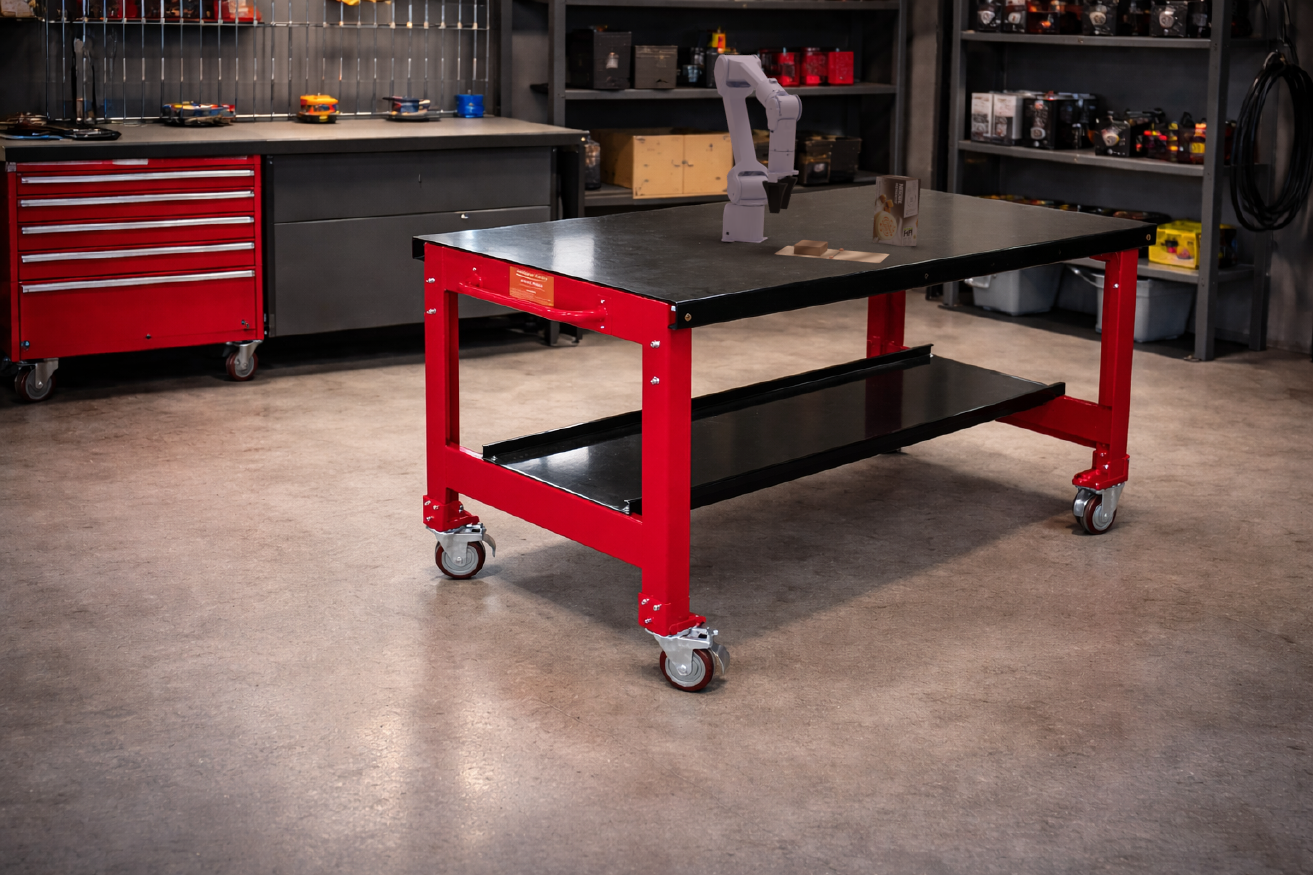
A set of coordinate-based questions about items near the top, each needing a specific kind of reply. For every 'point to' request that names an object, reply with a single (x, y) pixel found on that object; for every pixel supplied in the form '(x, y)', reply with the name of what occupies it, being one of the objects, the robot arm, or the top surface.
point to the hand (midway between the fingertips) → (778, 211)
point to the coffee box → (896, 210)
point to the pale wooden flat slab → (839, 255)
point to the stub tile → (810, 247)
